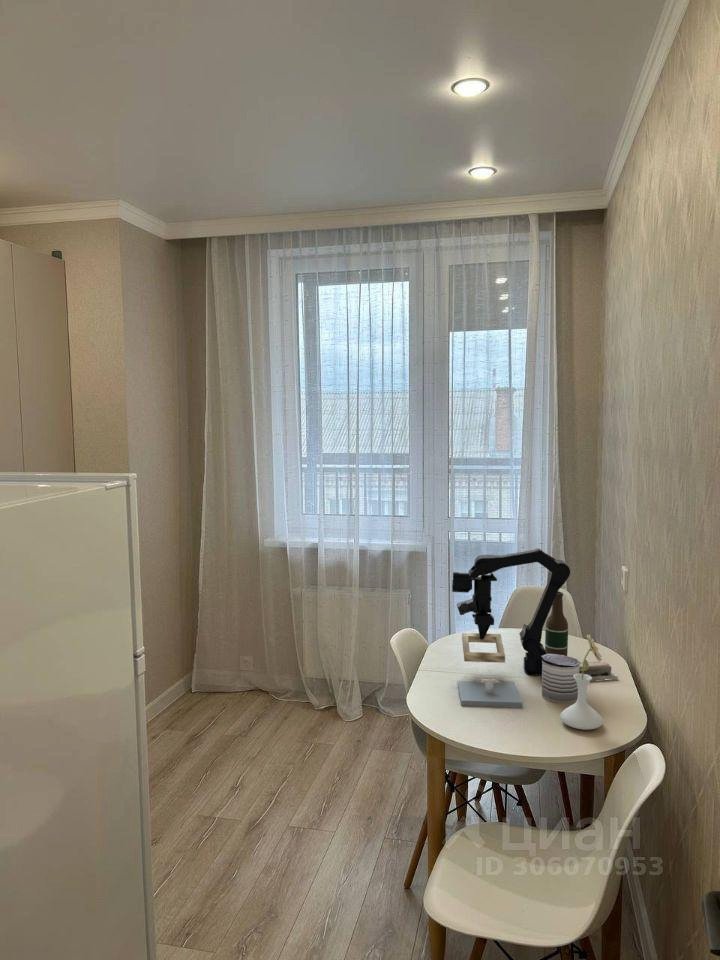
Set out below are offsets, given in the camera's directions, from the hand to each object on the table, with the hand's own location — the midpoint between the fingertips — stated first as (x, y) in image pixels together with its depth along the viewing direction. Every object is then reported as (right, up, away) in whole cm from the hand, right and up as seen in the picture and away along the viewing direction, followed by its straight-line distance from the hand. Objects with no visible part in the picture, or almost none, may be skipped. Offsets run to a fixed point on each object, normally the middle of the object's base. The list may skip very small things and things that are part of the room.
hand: (481, 638), depth 236 cm
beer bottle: (+29, -10, +13) cm, 33 cm away
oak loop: (0, -3, -5) cm, 6 cm away
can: (+20, -13, -21) cm, 32 cm away
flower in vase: (+21, -15, -41) cm, 49 cm away
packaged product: (+34, -12, -4) cm, 36 cm away
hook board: (-2, -13, -23) cm, 26 cm away
